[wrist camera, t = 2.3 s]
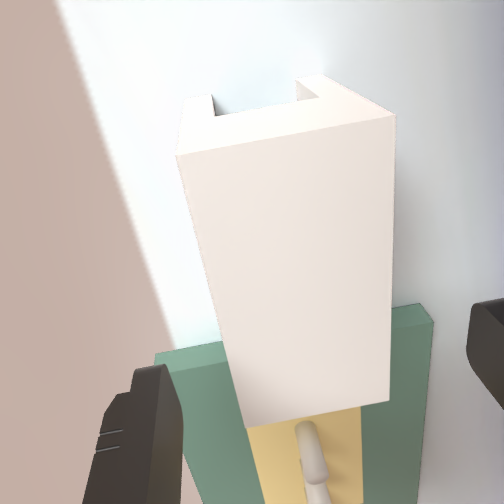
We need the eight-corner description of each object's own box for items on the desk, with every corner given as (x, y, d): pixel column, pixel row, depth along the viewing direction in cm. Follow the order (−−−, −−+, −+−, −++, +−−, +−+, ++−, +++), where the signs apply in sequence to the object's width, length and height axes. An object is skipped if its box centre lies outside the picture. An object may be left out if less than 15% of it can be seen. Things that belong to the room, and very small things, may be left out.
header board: (155, 353, 22) (145, 429, 18) (419, 303, 22) (466, 366, 18) (221, 529, 31) (224, 604, 27) (407, 493, 31) (436, 561, 27)
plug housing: (184, 98, 16) (175, 155, 10) (321, 73, 16) (395, 114, 10) (232, 306, 21) (245, 428, 15) (334, 287, 21) (389, 400, 15)
